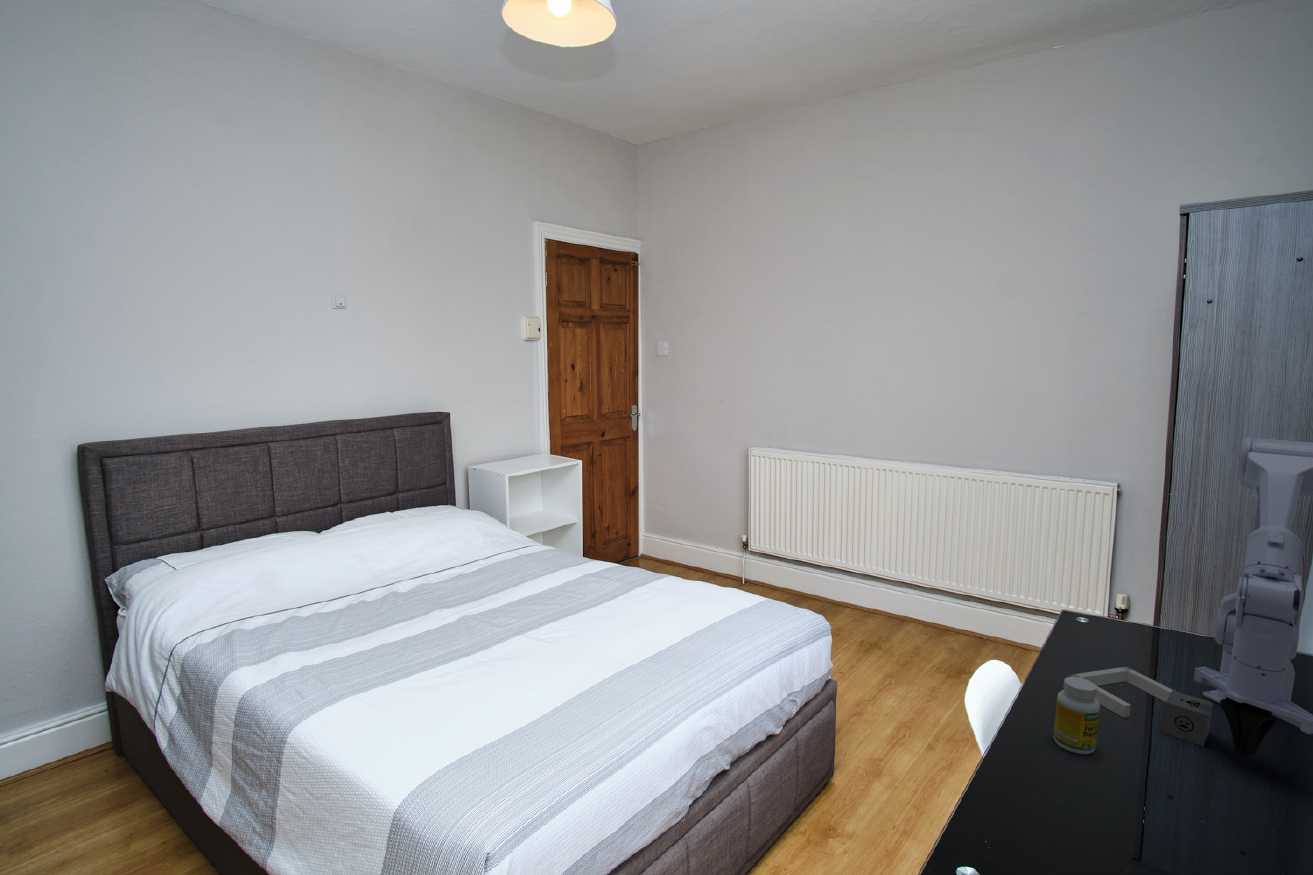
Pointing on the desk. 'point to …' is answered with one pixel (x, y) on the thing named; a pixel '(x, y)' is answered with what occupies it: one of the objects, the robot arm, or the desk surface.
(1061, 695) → the supplement bottle
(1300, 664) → the desk surface
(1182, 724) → the dice cube
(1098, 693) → the grey angular bar shape
